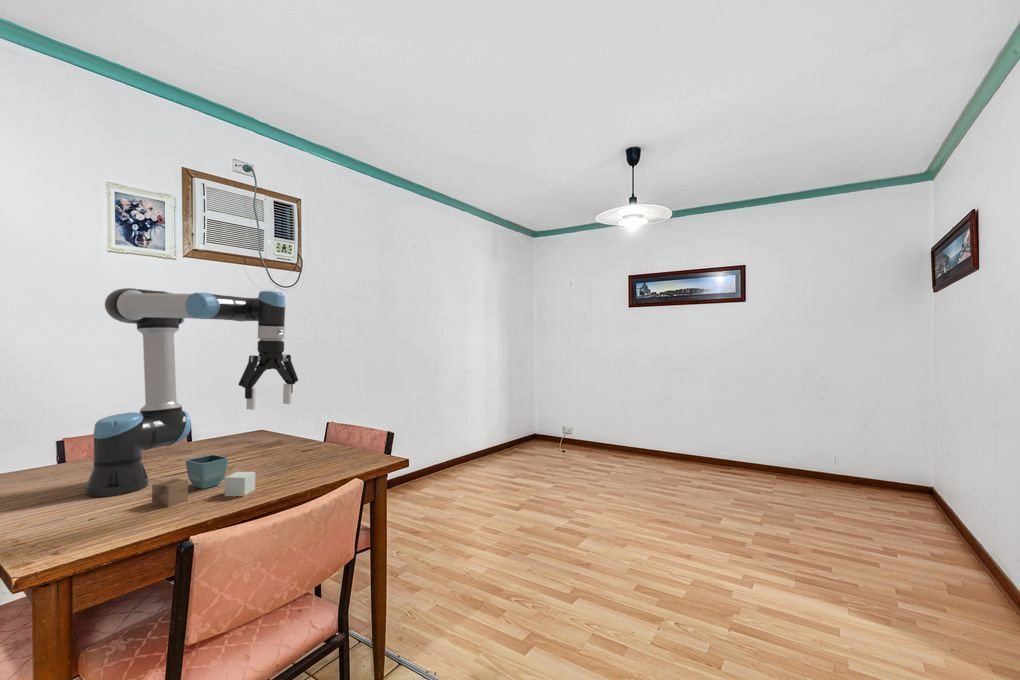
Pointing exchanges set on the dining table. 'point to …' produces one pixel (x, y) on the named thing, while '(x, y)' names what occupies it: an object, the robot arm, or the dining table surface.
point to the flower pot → (206, 470)
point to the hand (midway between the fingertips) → (269, 406)
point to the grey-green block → (239, 483)
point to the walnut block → (169, 492)
